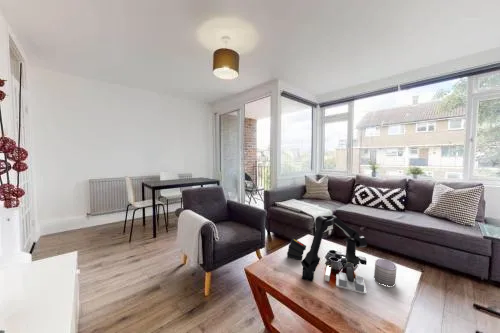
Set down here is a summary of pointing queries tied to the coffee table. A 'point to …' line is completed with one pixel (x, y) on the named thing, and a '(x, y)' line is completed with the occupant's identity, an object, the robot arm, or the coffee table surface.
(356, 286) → the white twin post stand
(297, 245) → the magazine
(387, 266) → the can
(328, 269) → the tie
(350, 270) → the lead
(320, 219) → the robot arm
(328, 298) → the coffee table surface
